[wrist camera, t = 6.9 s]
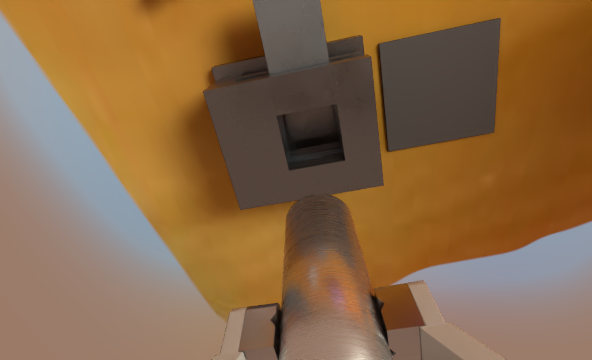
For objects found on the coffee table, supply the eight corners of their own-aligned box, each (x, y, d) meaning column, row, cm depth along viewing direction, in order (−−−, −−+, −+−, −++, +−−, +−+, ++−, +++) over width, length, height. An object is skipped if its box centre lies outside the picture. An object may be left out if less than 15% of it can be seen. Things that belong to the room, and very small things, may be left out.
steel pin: (347, 188, 14) (435, 469, 5) (356, 244, 16) (438, 550, 7) (279, 200, 15) (252, 488, 6) (293, 255, 16) (289, 562, 7)
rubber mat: (498, 18, 28) (500, 18, 28) (492, 131, 32) (494, 132, 32) (378, 43, 29) (379, 43, 29) (388, 150, 33) (388, 151, 33)
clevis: (352, -33, 27) (369, -49, 20) (373, 162, 34) (391, 195, 27) (196, 4, 28) (166, -1, 21) (249, 184, 35) (237, 220, 29)
